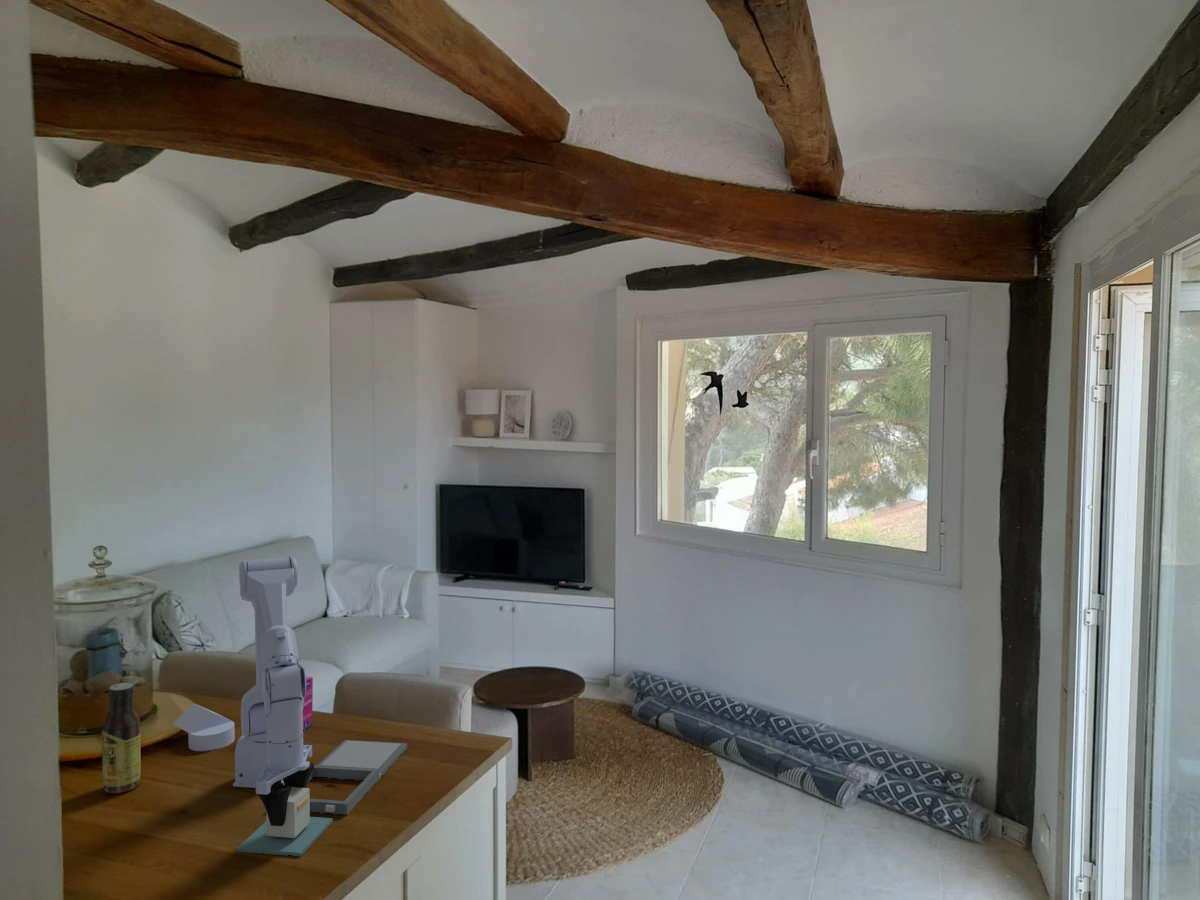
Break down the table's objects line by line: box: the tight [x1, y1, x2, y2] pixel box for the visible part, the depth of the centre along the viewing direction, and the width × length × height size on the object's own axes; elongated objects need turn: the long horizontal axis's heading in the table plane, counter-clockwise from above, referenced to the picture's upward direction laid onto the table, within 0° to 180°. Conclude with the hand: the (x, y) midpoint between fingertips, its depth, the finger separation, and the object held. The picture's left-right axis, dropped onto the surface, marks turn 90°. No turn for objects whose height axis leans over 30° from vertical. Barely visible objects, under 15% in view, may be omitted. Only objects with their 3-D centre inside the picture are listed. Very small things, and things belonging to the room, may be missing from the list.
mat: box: [236, 816, 334, 857], centre depth 133 cm, size 11×11×1 cm
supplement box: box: [301, 676, 314, 731], centre depth 178 cm, size 6×6×12 cm
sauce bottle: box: [101, 682, 142, 795], centre depth 150 cm, size 7×6×20 cm
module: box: [265, 787, 311, 838], centre depth 133 cm, size 5×5×6 cm
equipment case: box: [307, 739, 408, 816], centre depth 155 cm, size 14×29×2 cm, turn 172°
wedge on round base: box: [172, 703, 236, 752], centre depth 173 cm, size 9×7×13 cm
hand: (286, 816), depth 133 cm, fingers closed on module, 5 cm apart
